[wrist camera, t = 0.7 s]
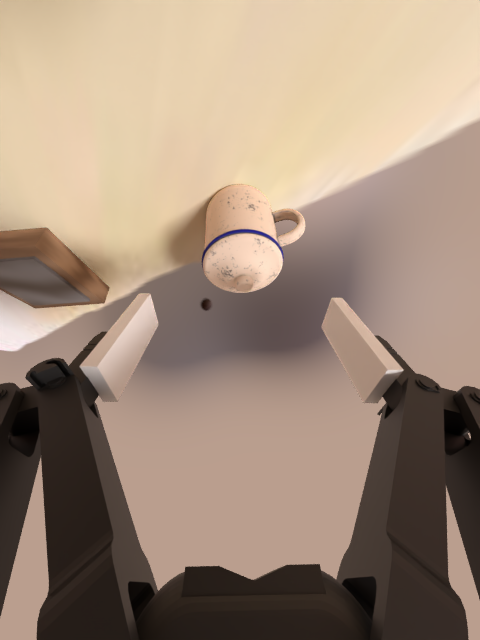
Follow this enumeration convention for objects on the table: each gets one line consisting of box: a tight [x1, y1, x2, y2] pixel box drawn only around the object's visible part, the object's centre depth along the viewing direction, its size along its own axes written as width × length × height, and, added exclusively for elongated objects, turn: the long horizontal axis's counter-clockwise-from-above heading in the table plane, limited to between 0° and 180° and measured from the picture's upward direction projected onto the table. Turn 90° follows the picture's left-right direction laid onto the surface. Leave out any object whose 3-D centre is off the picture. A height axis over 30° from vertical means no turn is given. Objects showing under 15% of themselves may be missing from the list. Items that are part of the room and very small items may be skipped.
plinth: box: [0, 228, 109, 308], centre depth 31 cm, size 13×13×4 cm
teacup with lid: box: [202, 184, 305, 293], centre depth 23 cm, size 12×9×12 cm
